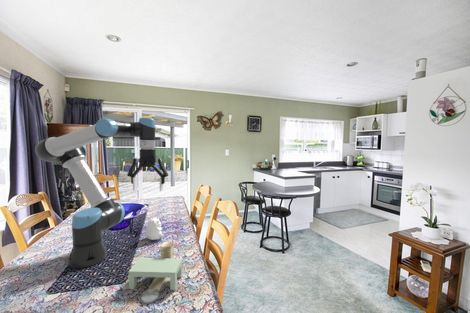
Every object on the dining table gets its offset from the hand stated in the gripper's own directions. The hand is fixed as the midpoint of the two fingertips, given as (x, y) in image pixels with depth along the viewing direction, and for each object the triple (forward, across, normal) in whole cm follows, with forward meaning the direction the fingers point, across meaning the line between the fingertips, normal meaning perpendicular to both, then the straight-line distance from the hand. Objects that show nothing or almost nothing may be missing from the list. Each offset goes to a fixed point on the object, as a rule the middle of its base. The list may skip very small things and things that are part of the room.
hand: (148, 190), depth 112 cm
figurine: (+32, -3, +14) cm, 35 cm away
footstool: (+32, +14, -25) cm, 43 cm away
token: (+32, +15, -34) cm, 49 cm away
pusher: (+32, +15, -22) cm, 41 cm away
